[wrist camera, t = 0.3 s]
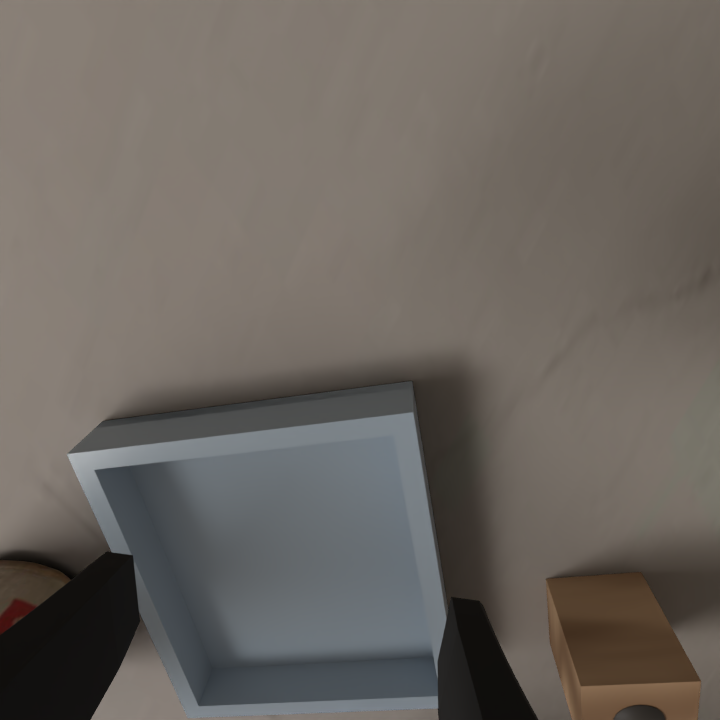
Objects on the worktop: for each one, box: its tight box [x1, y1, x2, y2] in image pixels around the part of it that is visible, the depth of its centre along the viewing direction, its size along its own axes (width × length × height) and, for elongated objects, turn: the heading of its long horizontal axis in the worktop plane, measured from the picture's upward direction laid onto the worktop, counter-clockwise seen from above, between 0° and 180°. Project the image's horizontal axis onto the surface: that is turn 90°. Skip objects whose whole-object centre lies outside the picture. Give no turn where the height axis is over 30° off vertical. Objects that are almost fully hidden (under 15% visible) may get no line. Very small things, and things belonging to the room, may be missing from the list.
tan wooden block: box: [546, 572, 701, 720], centre depth 21 cm, size 4×4×5 cm
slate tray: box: [67, 381, 448, 718], centre depth 22 cm, size 15×13×2 cm
